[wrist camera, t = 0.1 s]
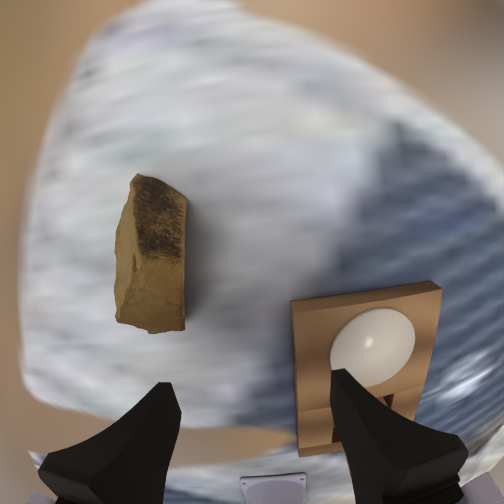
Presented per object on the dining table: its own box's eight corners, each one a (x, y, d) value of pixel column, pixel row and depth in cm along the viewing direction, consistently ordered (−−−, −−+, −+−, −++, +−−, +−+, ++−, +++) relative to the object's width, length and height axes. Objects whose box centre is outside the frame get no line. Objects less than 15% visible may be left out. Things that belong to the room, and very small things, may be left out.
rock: (206, 364, 21) (277, 256, 17) (104, 399, 14) (150, 261, 10) (138, 272, 26) (180, 173, 22) (51, 276, 19) (79, 153, 15)
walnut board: (402, 421, 25) (408, 433, 23) (297, 443, 26) (298, 457, 24) (430, 280, 21) (442, 289, 19) (290, 300, 22) (293, 312, 20)
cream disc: (405, 373, 21) (407, 377, 21) (328, 389, 21) (329, 394, 21) (416, 300, 19) (420, 303, 19) (329, 314, 20) (331, 318, 19)
